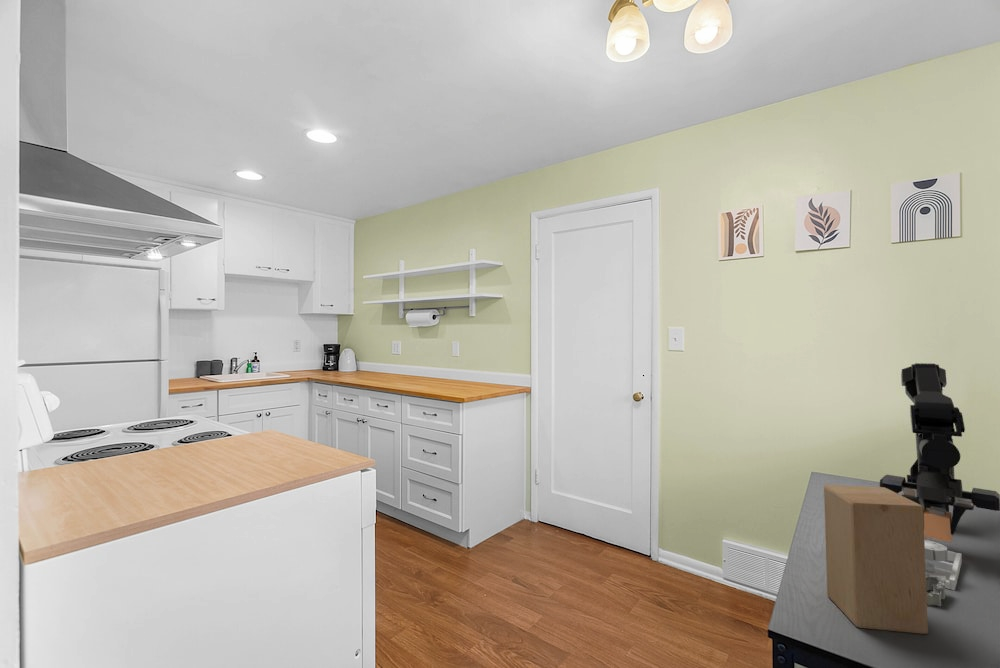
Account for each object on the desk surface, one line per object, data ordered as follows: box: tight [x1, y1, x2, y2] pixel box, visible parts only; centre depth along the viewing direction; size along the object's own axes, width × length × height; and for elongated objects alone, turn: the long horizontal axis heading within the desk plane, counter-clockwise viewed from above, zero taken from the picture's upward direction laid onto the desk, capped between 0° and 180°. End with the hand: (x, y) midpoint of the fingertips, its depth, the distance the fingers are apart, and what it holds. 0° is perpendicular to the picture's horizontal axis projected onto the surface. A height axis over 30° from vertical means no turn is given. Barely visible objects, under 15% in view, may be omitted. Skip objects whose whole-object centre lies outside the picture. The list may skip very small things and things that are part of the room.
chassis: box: [925, 550, 963, 591], centre depth 93 cm, size 16×8×2 cm, turn 132°
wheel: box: [924, 539, 949, 562], centre depth 90 cm, size 5×5×2 cm
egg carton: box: [926, 573, 946, 607], centre depth 85 cm, size 11×8×4 cm
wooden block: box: [823, 484, 929, 635], centre depth 78 cm, size 10×10×20 cm
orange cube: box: [924, 506, 953, 543], centre depth 101 cm, size 5×4×6 cm
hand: (938, 531), depth 101 cm, fingers closed on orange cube, 4 cm apart
